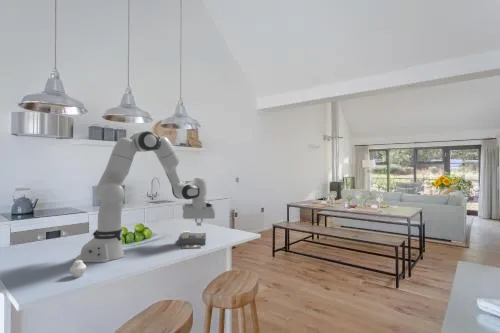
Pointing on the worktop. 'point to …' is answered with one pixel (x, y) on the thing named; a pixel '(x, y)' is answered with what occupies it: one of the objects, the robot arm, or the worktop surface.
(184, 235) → the button front left
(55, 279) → the worktop surface
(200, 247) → the pattern card
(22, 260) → the worktop surface
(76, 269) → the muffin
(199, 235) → the button front right
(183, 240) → the button board
